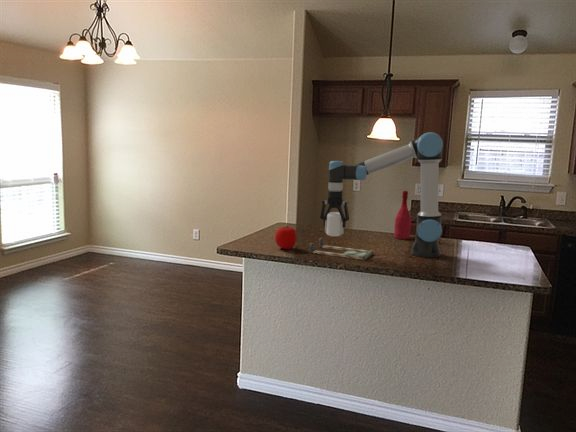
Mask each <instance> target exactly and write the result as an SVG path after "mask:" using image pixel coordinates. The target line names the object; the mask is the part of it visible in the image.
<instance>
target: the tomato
mask: <svg viewBox="0 0 576 432" xmlns="http://www.w3.org/2000/svg"><path fill="white" fill-rule="evenodd" d="M274 240H275V243H276V245H277V246H278V247H279V248H281V249H285V250H291V249H293V248H294V246H295V245H296V243H297V232H296V230H295V229H294V228H293V227H291V226H288V225H286V226H282V227H279V228H278V229H277V230H276V231H275V234H274Z"/></svg>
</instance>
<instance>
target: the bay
mask: <svg viewBox="0 0 576 432" xmlns="http://www.w3.org/2000/svg"><path fill="white" fill-rule="evenodd" d="M324 240H325V239H324V238H322V237H319V239H318V242H319V243H318V248H319V247H320V248H319V249H321V248H322V249H327V250H328V249H330V250H337V251H343V253H338V252H331V251H323V250H315V243H314V242H310V243H309V254H315V253H317V254H318V255H323V254H324V256H331V257H340V258H345V257H346V258H347V259H354V260H362V261H366V260H367V259H368V258H369V257H371V255H372V254H373V251H374V250H373V249H369V250H366V249H357V248H349V247H341V246H335V245H334V246H333V245H326V244H324ZM344 251H345V252H344ZM317 254H316V255H317Z"/></svg>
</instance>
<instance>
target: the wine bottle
mask: <svg viewBox="0 0 576 432" xmlns="http://www.w3.org/2000/svg"><path fill="white" fill-rule="evenodd" d="M408 194H409V191H408V190H403V191H402V196H401V198H402V202H401V206H400V208H399V210H398V212H397V213H396V216H395V219H394V230H393V231H394V235H393V236H394V237H393V238H395V239H397V240H409V239H410V237H411V229H412V218H411V214H410V211H409V207H408V202H407V201H408V198H409V197H408V196H409V195H408Z"/></svg>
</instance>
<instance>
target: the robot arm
mask: <svg viewBox="0 0 576 432" xmlns="http://www.w3.org/2000/svg"><path fill="white" fill-rule="evenodd" d="M443 148H444V142H443V139H442V137H441V136H440V135H439V134H438V133H436V132H434V131H433V132H431V131H429V132H428V131H427V132H425V133H423V134H422V135H420V136H419V137H418V138H415V139H413V140H410V142H409V144H405V145H403V146H400V147H398V148H395V149H393V150H389V151H388V152H385V153H382V154H380V155H377V156H374V157H372V158H369V159H366V160H364V161H362V162H359V163H355V164H354V165H353V164H352V165H351V164H350V165H349V164H344V161H342V160H331V161H330V162H329V165H328V186H327V188H328V192H327V193H328V194H327V199H326V200H322V201H321V202H322V204H321V205H322V206H321V211H320V217H319V218H320V219H321V220H322V221H323V227H324V233H326V234H327V215H328V213H330V212H332V209H337V212H339V213H340V215H341V218H342V222H341V234H342V235H343V234H344V228H346V222H347V221H350V215H349V208H348V206H349V202H348V201H344V200H343V189H344V187H343V186H344V180H348V181H349V180H352V181H365V180H366V179H367V176H368V175H370V174H374V173H376V172H378V171H381V170H384V169H387V168H390V167H393V166H395V165H397V164H400V163H403V162H406V161H408V160H411V159H413V158H415V159H417V161H418V163H420V203H419V205H420V210H419V212H418V213H417V215H416V230H415V239H414V242H413V244H412V247H411V251H410V253H411V254H412V255H413V256H416V257H420V258H439V257H441V249H440V248H441V247H440V245H439V238H440V237H441V236H442V234H443V228H442V213H441V212H439V174H440V173H439V167H440V166H439V163H441V161H442V160H443ZM327 205H328V207H326V206H327ZM342 205H343V208H344V211H343V208H342ZM326 208H327V209H326Z"/></svg>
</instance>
